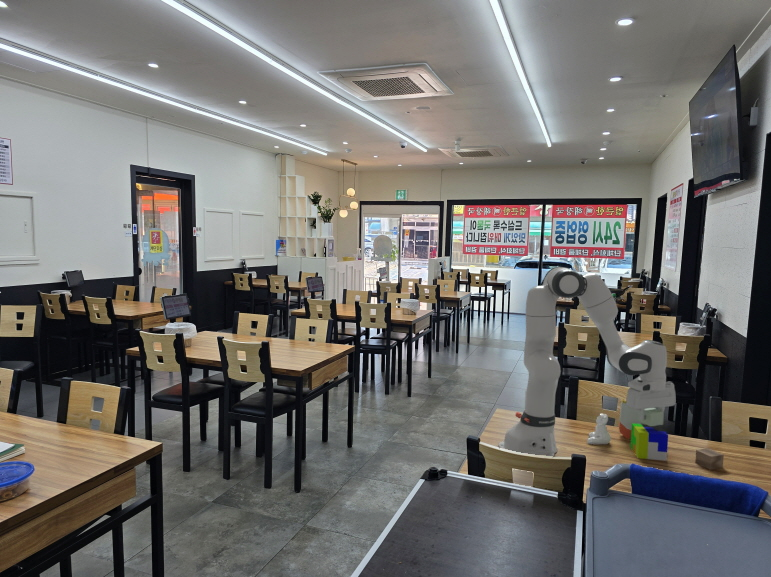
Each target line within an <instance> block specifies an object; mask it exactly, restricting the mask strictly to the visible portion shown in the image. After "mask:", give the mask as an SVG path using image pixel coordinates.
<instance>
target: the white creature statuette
mask: <svg viewBox="0 0 771 577" xmlns="http://www.w3.org/2000/svg"><path fill="white" fill-rule="evenodd" d="M608 421H609V417H608V414H605V413H600V414H599V415H598V416H597V417H596V420H595V422H596V426H595V428H594V431H592V432H589V433H588V438H587V439H586V442H587V444H588V445H592V444H593V445H608V444H610V442H611V440H612V436H611V434H610V432H608V427H607V423H608Z"/></svg>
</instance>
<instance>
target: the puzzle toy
mask: <svg viewBox="0 0 771 577" xmlns="http://www.w3.org/2000/svg"><path fill="white" fill-rule="evenodd" d="M668 444H669V434H668V433H667V432H666V431H665V429H664V428H663V427H662V426H661V425H656V426H649V425H646V424H634V423H632V428H631V439H630V447H631V448H630V449H631V451H632V450H633V451H632V452H633V453H634V455H635V454H636V455H635V456H636V458H637V457H638V458H637V459H643V460H644V459H645V460H652V461H653V460H656V461H668V447H669V445H668Z"/></svg>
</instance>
